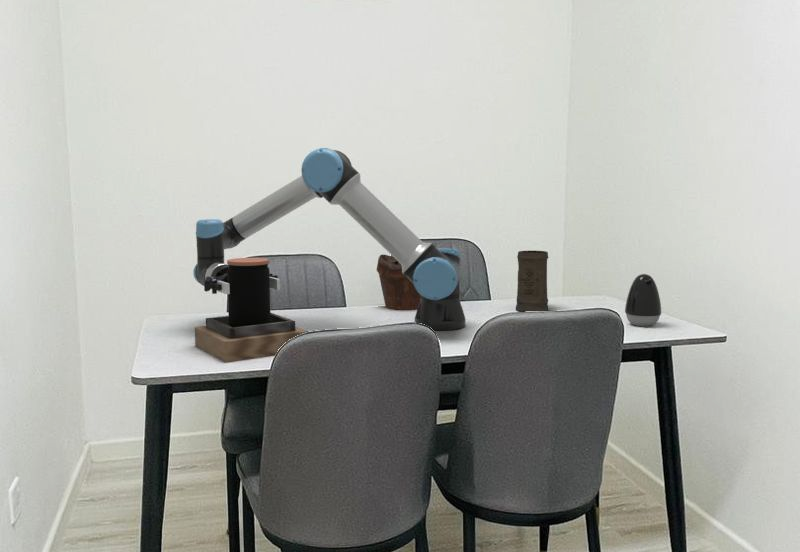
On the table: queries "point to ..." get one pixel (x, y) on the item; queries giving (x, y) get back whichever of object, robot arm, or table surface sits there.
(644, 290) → the black rounded piece
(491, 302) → the table surface
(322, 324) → the table surface
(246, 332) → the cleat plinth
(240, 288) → the coffee jar
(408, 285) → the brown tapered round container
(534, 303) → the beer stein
